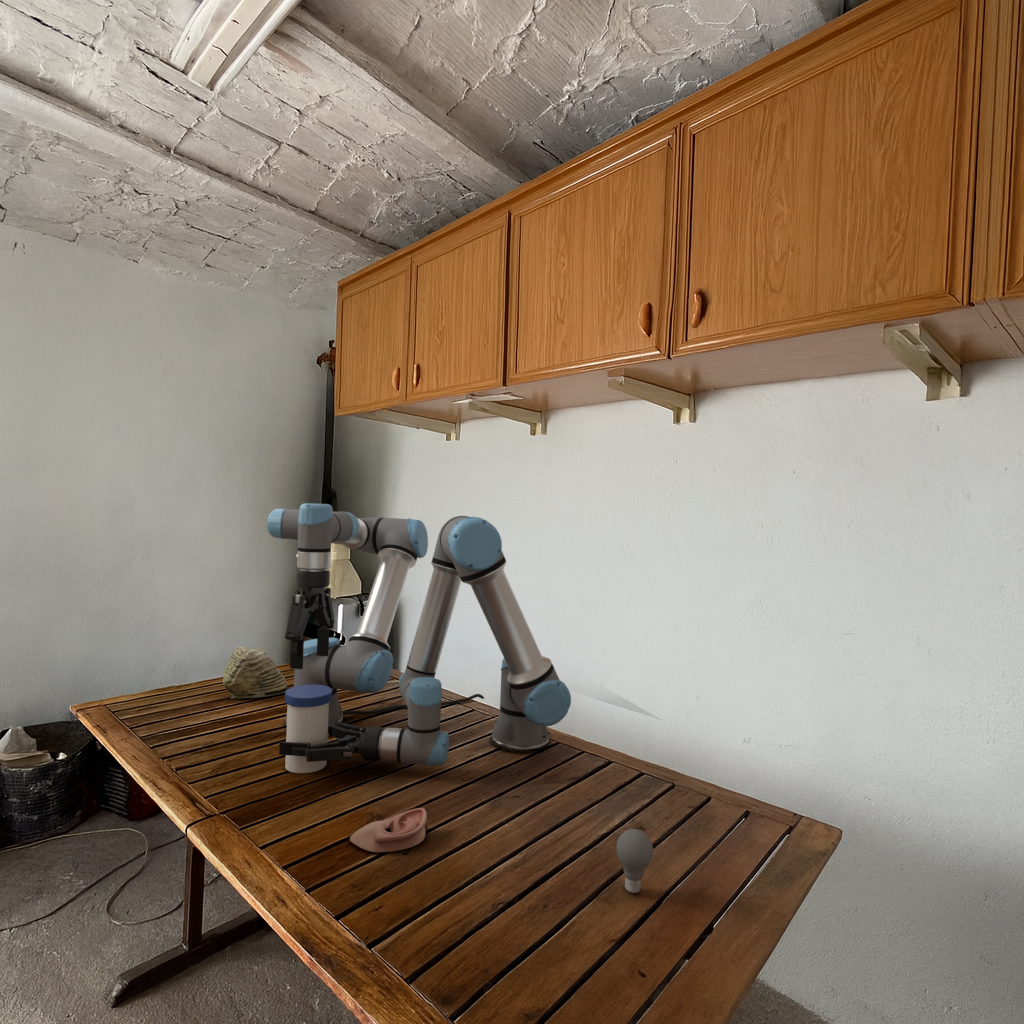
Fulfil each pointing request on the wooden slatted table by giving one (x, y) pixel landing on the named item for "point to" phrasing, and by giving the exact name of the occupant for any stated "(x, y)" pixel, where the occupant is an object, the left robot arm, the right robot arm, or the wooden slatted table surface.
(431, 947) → the wooden slatted table surface
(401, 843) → the anatomical model
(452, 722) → the wooden slatted table surface
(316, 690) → the lid
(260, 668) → the fossil
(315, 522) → the left robot arm
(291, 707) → the jar
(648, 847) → the light bulb
